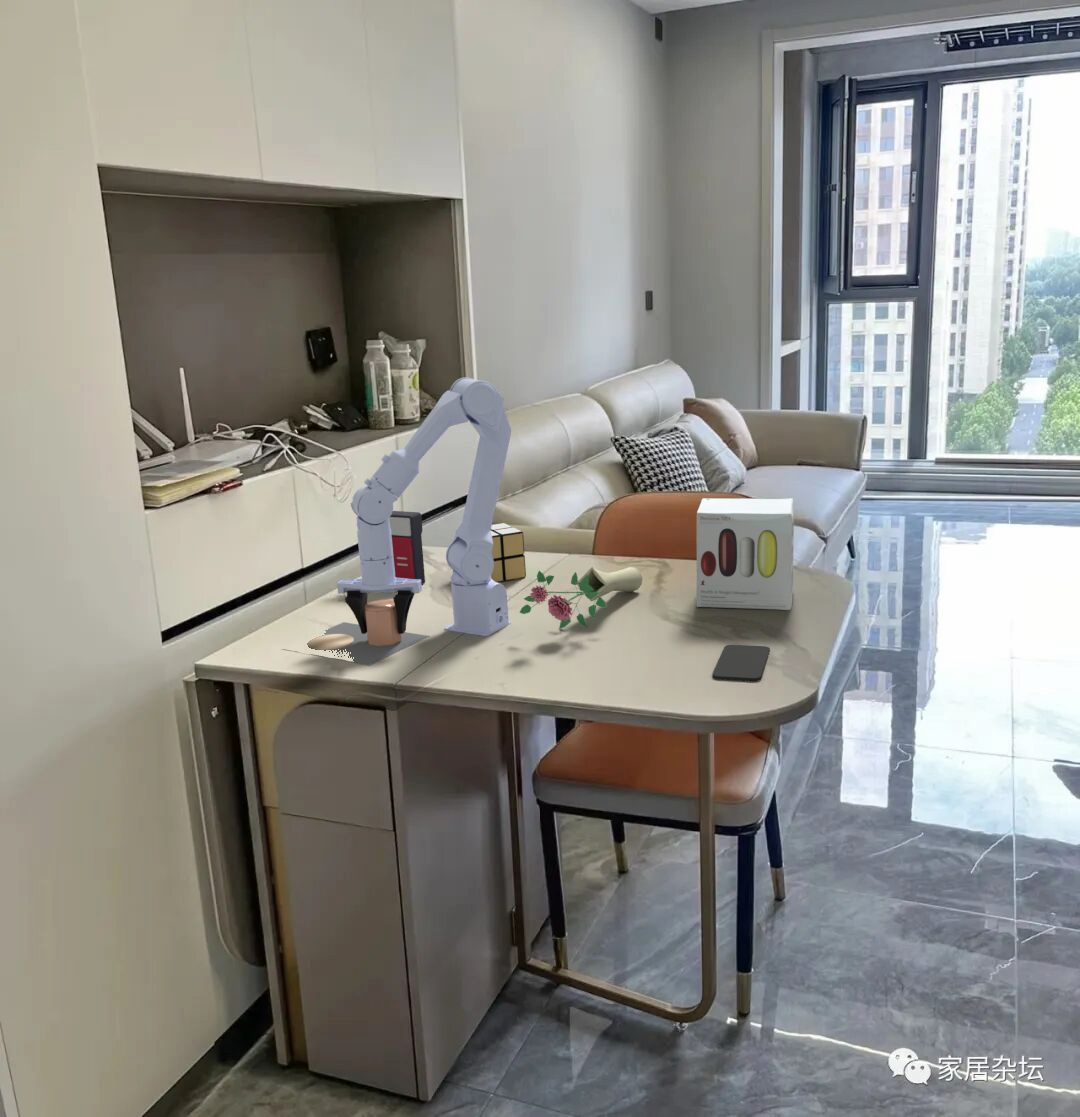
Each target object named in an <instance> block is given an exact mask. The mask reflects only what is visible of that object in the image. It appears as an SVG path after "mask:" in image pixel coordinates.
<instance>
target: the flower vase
mask: <svg viewBox="0 0 1080 1117" xmlns="http://www.w3.org/2000/svg"><path fill="white" fill-rule="evenodd" d="M554 578H555V576H554V575H547V576H545V574H543V572H541V570H538V571H537V574H536V579H537V582H538V583H543V586H542V585H535V586H533V587H532V588H531V589H530V591H531V592H530V594H529V595H527V596H526V597H524V598H523V600H524V601H527V602H531V603H534V602H536V603H535V604H534V605H533V606H530V605H529V604H525V605H524V606H522V607H521V609H520V611H519V613H520V614H523V615H525V614H529V613H531V610H532V608H533V607H535V606H536V605H537V604H540V602H541V603H543V602H546V599H547V598H548V596H549V595H550V594H553V596H551V597H550V598H549V599H548V601H547V605H548V613H549V614H550V615H551V616H552V617H554V619H556V620H559V621H560V623H559V629H563V628H565V627H567V626H568V625H569V624H570V623H571V622H572V621H571V618H572V617H573V614H574V612H575V610H576V608H577V611H578V615H576V620H577V621H578V623H579V625H581V626H582V627H584V628H587V621H586V619H585V617H584V615H583V614H582V613H580V611H579V608H578V606H577V605H578V604H579V601H580V600H581V598H582V597H583V596H585V597H586V598H587V599H588V600H589V601H590V602H593V601H594V603H595V604H594V603H593V605H589V606H588V608H587V609H588V613H589V616H590V617H591V618H592V619H594V618H595V615H596V612H597V607H600V608H608V606H607V603H606V601H605V600H604V599H603V598H602V597H604V596H605V595H607V594H610V593H611V592H627V593H628V592H629V593H633V592H635V591H638V590H639V589H640V587H641V586H642V584H643V576H642V574H641V571H640V570H638V568H636V567H633V566H628V567H626V568H625V567H624V568H622V569H619V570H616V571H611V572H604V571H601V570H599V569H596V568H595V567H593V566H592V567H590V569H588V570H587V571H586V573H585V574H583V576H582V577H580V579H578V574H577V572H576V571H575V572H574V573H573V575H572V576H571V579H570V584H571V585H573V586H574V587H575V588H578V590H579V591H578V590H576V591H554V590H553V591H552V590H551V591H548V590H547V589H546V586H550V584H552V582H553V580H554ZM545 582H546V584H545ZM577 586H578V587H577ZM557 594H576V595H574V596H572V597H571V598H569V599H566V597H562V596H561V595H559V596H558V595H557ZM576 598H579V599H578V601H577V603H575V602H574V603H573V601H572V600H574V599H576ZM571 601H572V602H571ZM571 605H575V607H574V609H573V607H571Z"/></svg>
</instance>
